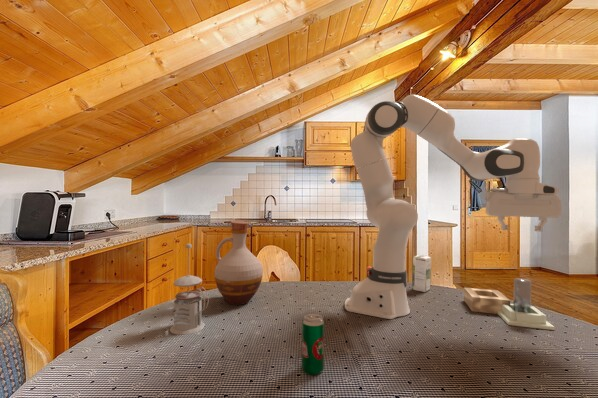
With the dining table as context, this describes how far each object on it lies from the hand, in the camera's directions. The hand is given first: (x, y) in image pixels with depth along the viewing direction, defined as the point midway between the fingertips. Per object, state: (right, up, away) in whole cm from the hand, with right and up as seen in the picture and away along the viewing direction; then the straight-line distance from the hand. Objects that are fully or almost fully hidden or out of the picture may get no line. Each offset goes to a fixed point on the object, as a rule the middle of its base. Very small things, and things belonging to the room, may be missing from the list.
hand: (521, 230), depth 96 cm
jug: (-97, -28, +15) cm, 102 cm away
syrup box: (-20, -29, +31) cm, 47 cm away
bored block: (-5, -29, +11) cm, 31 cm away
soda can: (-70, -29, -30) cm, 81 cm away
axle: (0, -28, 0) cm, 28 cm away
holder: (0, -29, 0) cm, 29 cm away
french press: (-106, -28, -9) cm, 110 cm away
